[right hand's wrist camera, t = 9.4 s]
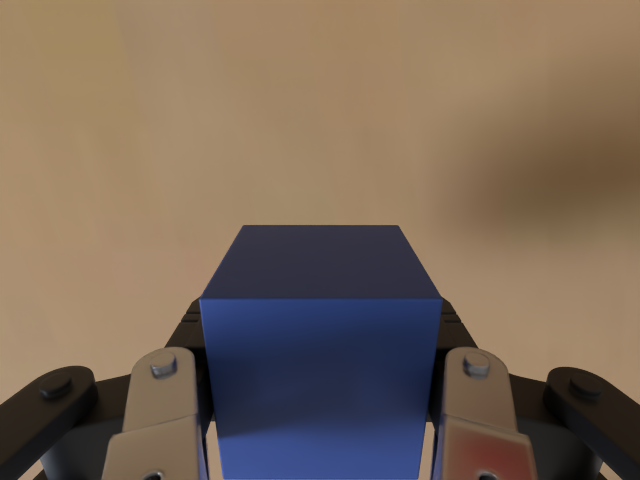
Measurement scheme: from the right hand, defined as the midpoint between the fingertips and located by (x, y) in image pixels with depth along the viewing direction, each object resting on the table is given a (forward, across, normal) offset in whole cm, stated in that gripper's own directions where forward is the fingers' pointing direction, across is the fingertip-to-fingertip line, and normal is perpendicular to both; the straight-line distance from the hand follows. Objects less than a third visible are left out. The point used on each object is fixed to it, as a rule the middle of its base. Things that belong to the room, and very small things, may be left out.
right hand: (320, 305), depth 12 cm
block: (0, 0, 0) cm, 0 cm away
